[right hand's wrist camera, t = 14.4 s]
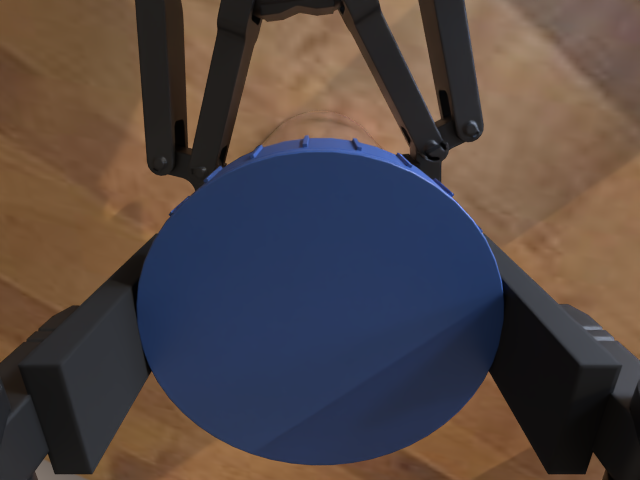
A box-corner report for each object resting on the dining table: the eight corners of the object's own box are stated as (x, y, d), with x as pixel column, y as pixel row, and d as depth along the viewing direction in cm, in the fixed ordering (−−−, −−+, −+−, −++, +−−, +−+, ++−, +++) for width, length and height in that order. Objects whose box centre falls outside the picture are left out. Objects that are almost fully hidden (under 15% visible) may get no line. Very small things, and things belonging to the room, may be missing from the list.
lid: (485, 390, 14) (512, 440, 12) (216, 433, 14) (201, 487, 12) (465, 100, 10) (499, 106, 8) (113, 175, 11) (70, 196, 9)
